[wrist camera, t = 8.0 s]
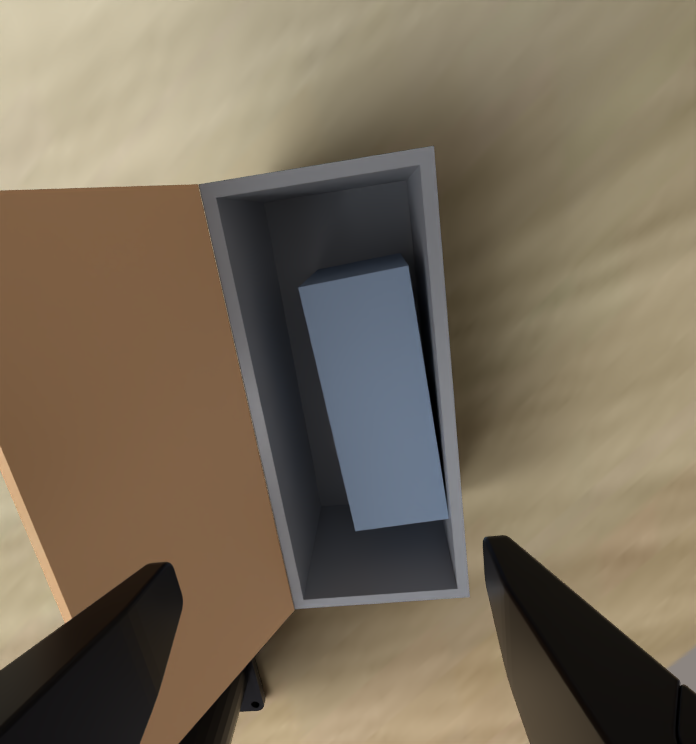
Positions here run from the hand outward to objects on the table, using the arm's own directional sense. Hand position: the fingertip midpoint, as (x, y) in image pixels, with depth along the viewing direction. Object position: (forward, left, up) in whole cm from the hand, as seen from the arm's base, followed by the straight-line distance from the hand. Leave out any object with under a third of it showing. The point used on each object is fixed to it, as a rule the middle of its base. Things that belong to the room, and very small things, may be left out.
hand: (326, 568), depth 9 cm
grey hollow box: (0, 0, -13) cm, 13 cm away
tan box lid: (0, +5, -4) cm, 6 cm away
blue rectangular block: (0, -1, -12) cm, 12 cm away
